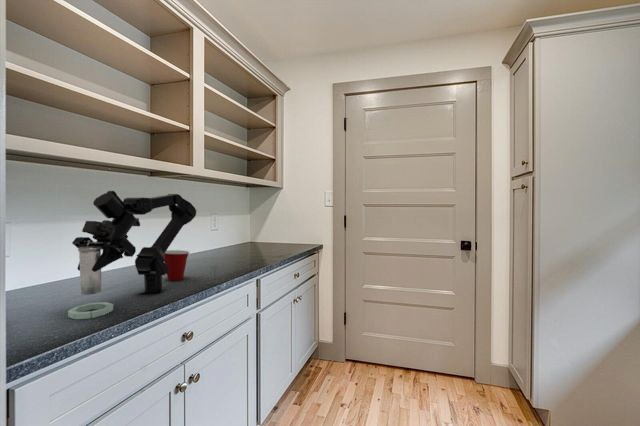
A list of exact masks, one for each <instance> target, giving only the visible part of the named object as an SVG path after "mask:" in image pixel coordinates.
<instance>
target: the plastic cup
mask: <svg viewBox="0 0 640 426" xmlns="http://www.w3.org/2000/svg"><path fill="white" fill-rule="evenodd" d="M190 253H191V252H190V251H188V250H183V249H182V250H181V249H180V250H179V249H171V250H169V249H167V250H166V252H165V261H164V263H165V264H166V265H167V266H168V268H169V269H168V273H167V274H166V277H167V280H168V281H169V282H177V281H181V280H183V279H184V276H185V271H186V265H187V259H188V257H189V254H190Z"/></svg>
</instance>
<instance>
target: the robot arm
mask: <svg viewBox="0 0 640 426" xmlns="http://www.w3.org/2000/svg"><path fill="white" fill-rule="evenodd" d="M92 205H93V206H94V207H96V209H97V210H98V211H99V212H101V214H102V215H103V216H104V217H105V218H106V220H102V221H96V220H86V221H85V222H84V226H83V228H82V229H81V232H82V233H87V234H90V235H91V236H92V238H93V239H94V240H96V241H94V240H92V239H91V238H90V237H89V236H87V237H86V236H78V237H76V238H74V240H73V241H72V242H71V243H72V245H73V246H75V247H76V248H77V249H78V248H80V247H86V246H101V250H102V253H101V256H100V257H99V259H98V260H97V262H96V263H95V265H94V267H93V269H92V271H94V272H96V271H98V270H100V269H101V270H102V269H103V268H105V267H107V266H109V265H110V264H112V263H114V262H116V261H118V260H120V259H123V258H124V256H125V257H127V258H128V257H131V258H132V257H134V255H135V253H136V252H137V250H136V246H135V245H134V244H133V243H132V242H131V241H130V240H129V236H128V235H127V234H128V233H129V231H130V230H131V228H133V227H140V226H141V223H140V222H141V221H140V219H139V217H136V216H137V215H139V216H141V215H146V214H148V213H150V212H152V211H153V210H154V209H158V208H163V207H168V210H169V211H170V212H171V214H170V215H171V219H170V221H169V222H168V223H167V225H166V226H165V227H164V228H163V230H162V231H161V233H160V234H159V236H158V237H157V238H156V240H155V241H154V242H153V244H152V245H151V246H150V247H148V246H147V247H146V246H143V247H142V248H141V249H140V251H139V252H138V254H137V255H136V256H135V257H136V258H135V261H134V265H135V268H136V271H137V274H138V276H140V275H141V276H143V278H144V279H143V281H144V285H143V287H144V289H143V290H142V291H141V292H140V294H141V295H145V294H159V293H160V294H161V293H163V291H164V290H165V289H166V286H163V276H166V275H167V273H168V269H169V268H168V266H167V265H166V264H165V262H164V261H165V252H166V250H169V247H170V246H171V244H172V243H173V241H174V240H175V239H176V237H177V235H178V234H179V233H180V231H181V230H182V228H183V227H184V226H185V225H188V223H189V224H190V222H192V221H193V220H194V219H195V218H196V215H197V209H196V207H195V206H194V205H193V204H192V203H191V202H190V201H188V200H186V199H185V198H183V197H182V195H181V194H178V193H168V194H165V195H159V196H153V197H125V198H124V199H123V200H122V199H121V198H120V197H119V195H118V194H117V192H115V190H108V191H107V192H106V193H103V194H101V195H100V196H98V197H96V198H95V199H94V200H93V203H92ZM135 215H136V216H135ZM107 219H112V220H107ZM77 270H78V271H79V272H80V261H79V262H78V265H77Z"/></svg>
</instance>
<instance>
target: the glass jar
mask: <svg viewBox="0 0 640 426" xmlns="http://www.w3.org/2000/svg"><path fill="white" fill-rule="evenodd" d="M77 251H78V253H79V255H78V256H79V257H78V258H79V262H80V271H79V281H80V283H79V284H80V287H79V288H80V295H82V296H83V295H84V296H85V295H88V296H89V295H95V294H99V293H102V291H103V283H102V278H103V277H102V268H101V269H100V270H98V271H96V272H94V271H92V269H93V267H94V265H95V263H96V262H97V260H98V259H99V257H100V256H101V254H102V253H101V246H86V247H80V248H77Z"/></svg>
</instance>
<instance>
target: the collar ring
mask: <svg viewBox="0 0 640 426" xmlns="http://www.w3.org/2000/svg"><path fill="white" fill-rule="evenodd" d="M90 310H91V311H90ZM113 311H114V303H111V302H107V301H105V302H104V301H103V302H90V303H85V304H81V305H77V306H74V307H72V308H70V309H69V310H68V311H67V318H70V319H72V320H87V319H94V318H99V317H101V315H102V316H105V314H106V315H108V314H110V313H111V312H113ZM109 312H110V313H109ZM107 313H108V314H107Z"/></svg>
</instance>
